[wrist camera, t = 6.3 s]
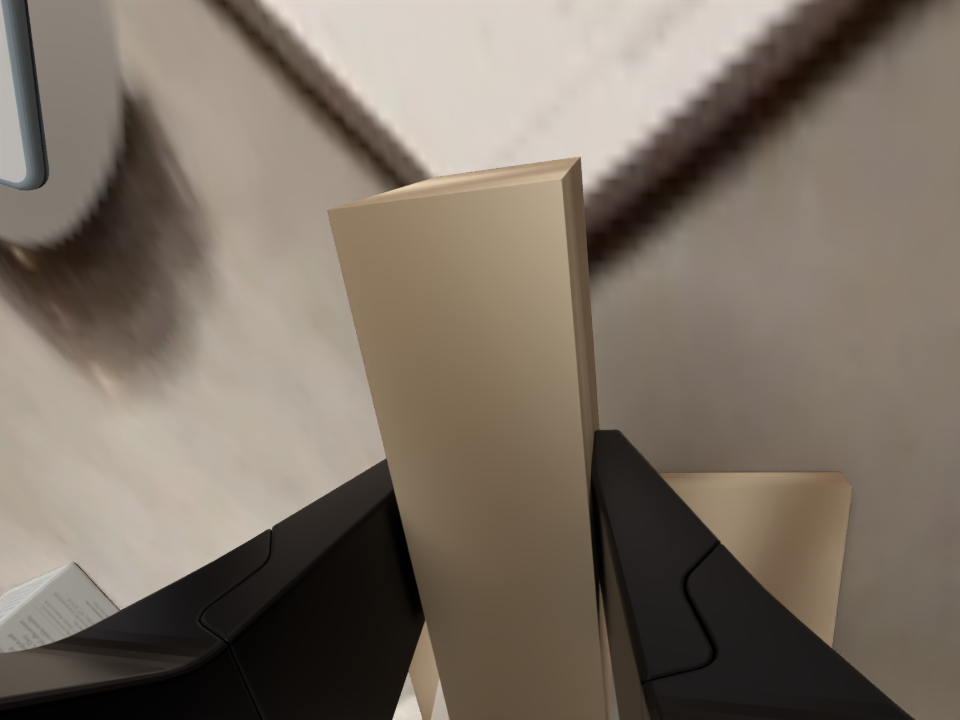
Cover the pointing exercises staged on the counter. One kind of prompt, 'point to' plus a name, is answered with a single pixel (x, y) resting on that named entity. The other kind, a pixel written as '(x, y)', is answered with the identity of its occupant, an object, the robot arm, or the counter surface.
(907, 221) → the counter surface
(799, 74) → the counter surface
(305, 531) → the robot arm
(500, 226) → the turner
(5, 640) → the skincare box
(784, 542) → the tan flat board
